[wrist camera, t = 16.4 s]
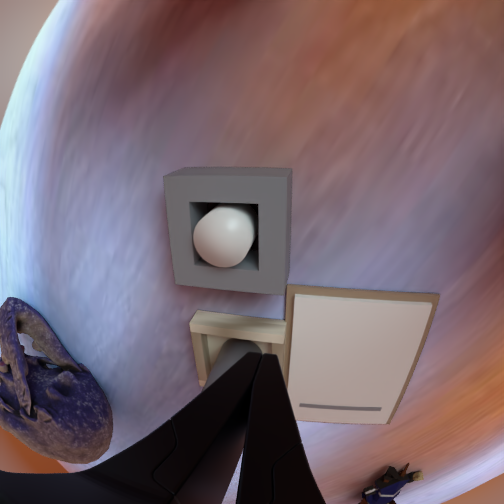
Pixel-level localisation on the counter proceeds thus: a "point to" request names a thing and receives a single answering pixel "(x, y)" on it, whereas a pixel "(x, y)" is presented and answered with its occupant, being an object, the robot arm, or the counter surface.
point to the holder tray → (233, 326)
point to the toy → (389, 486)
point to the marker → (230, 357)
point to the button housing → (231, 191)
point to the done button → (226, 234)
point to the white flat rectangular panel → (352, 351)
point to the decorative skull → (49, 392)
